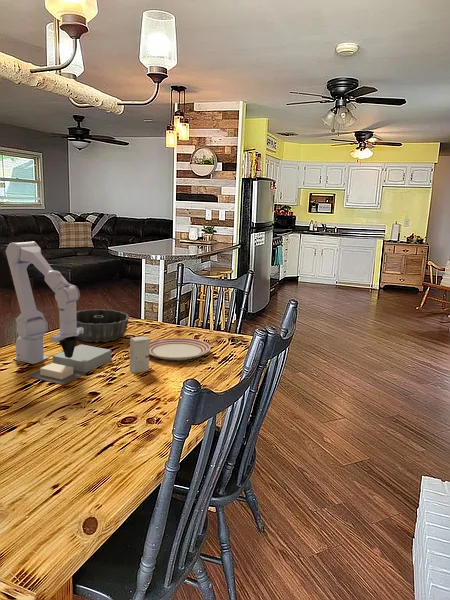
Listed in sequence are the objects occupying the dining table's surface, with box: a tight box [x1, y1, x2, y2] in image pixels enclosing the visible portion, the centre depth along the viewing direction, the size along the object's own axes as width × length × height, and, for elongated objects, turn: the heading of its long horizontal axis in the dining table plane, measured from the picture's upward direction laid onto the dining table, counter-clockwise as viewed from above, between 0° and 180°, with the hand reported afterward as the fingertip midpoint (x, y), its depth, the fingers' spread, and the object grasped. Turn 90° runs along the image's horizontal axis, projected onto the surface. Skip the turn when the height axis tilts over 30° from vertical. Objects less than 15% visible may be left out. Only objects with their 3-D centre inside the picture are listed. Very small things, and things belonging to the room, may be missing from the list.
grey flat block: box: [52, 343, 112, 373], centre depth 174 cm, size 14×16×4 cm
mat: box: [25, 369, 88, 386], centre depth 162 cm, size 16×12×1 cm
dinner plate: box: [149, 337, 211, 362], centre depth 191 cm, size 27×27×3 cm
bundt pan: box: [75, 308, 130, 344], centre depth 206 cm, size 26×26×10 cm
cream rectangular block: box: [39, 362, 73, 379], centre depth 161 cm, size 9×6×2 cm, turn 69°
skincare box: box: [129, 336, 151, 374], centre depth 169 cm, size 6×4×12 cm
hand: (68, 357), depth 166 cm, fingers closed
